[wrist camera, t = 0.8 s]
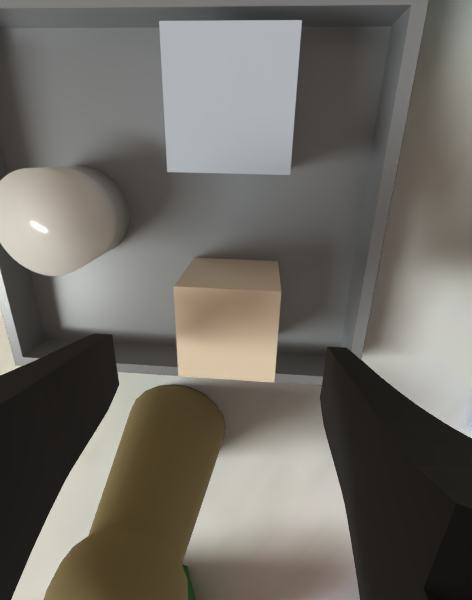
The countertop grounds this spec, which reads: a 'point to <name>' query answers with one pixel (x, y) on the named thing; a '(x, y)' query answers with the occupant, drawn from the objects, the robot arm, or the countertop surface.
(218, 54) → the light gray rectangular block
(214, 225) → the tray
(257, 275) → the tan rectangular block
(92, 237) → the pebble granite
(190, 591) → the milk carton
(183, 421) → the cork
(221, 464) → the countertop surface
